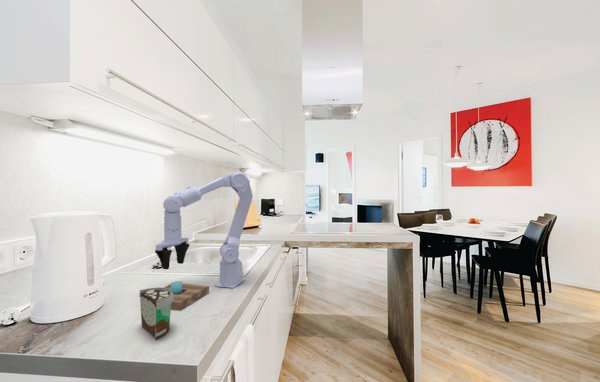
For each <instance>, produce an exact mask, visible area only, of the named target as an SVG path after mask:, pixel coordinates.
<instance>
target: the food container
mask: <svg viewBox="0 0 600 382" xmlns="http://www.w3.org/2000/svg"><path fill="white" fill-rule="evenodd" d="M138 297H139V298H140V299H139V300H140V301H139V302H140V318H141V319H140V320H141V329H142V330H143V331H145V332H146V333H147V334H148V335H149V336H150V337H151V338H152V339H153V340H155V341H157V340H160V339H161V338H163V337H165V336H166V335H167V334H168V333H169V331H170V325H171V323H170V322H171V310H172V309H171V303H172V302H173V300H174V297H173V293H172V292H171V290H170V289H167V288H164V287H150V288H149V287H148V288H144V289H139V296H138Z"/></svg>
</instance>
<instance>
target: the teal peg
mask: <svg viewBox="0 0 600 382" xmlns="http://www.w3.org/2000/svg"><path fill="white" fill-rule="evenodd" d="M170 284H171V292H172V293H173V295H179V294H181V293H182V284H183V281H182V280H175V281H172V282H170Z"/></svg>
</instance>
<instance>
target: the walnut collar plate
mask: <svg viewBox="0 0 600 382" xmlns="http://www.w3.org/2000/svg"><path fill="white" fill-rule="evenodd" d="M163 288H167V289H170V290H171V283H170V284H168V285H166V286H164V287H163ZM209 294H210V285H203V284H191V283H182V293H181V294H179V295H173V297H174V300H173V302H172V303H171V310H173V311H180V310H181V311H183V310H184V309H186V308H187V307H189V306H190V305H192V304H193V303H195V302H197V301H199V300H201V299H202V298H203V297H205V296H206V295H209ZM182 309H183V310H182Z"/></svg>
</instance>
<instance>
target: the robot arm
mask: <svg viewBox="0 0 600 382" xmlns="http://www.w3.org/2000/svg"><path fill="white" fill-rule="evenodd" d="M223 187H224V188H231V189H233V190H234V191H235V193H236V194H237V196H238V198H239V199H238V201H237V206H236V209H235V211H234V215H233V218H232V221H231V224H230V228H229V231H228V234H227V235H226V237H225V240H224V243H222V245H221V246H220V247H219V255H220V256H221V259H220V260H219V282H218V283H216V284H215V286H214V287H219V288H228V289H229V288H231V289H234V288H236V287H237V286H239V285H240V284H242V283H243V282H245V281H246V280H245V278H244V277H243V276H244V275H243V274H244V273H243V262H242V261H241V260H240V259H239V257H240V254H239V253H240V252H239V248H240V242H241V241H240V239H241V236H242V233H243V229H244V227H245V224H246V220H247V216H248V213H249V210H250V207H251V204H252V201H253V197H254V196H253V191H252V188H251V184H250V179H249V178H248V177H247V174H245V173H243V172H241V171H236V172H234V173H231V174H228V175H225V176H224V175H223V176H220V177H219V178H217V179H214V180H213V181H210V182H209V183H206V184H203V185H202V186H200V187H197V186H194V185H193V186H187V187H186V189H184V190H182V191H179V192H174V194H173V195H170V196H168V197H167V198H165V199H164V200H163V203H162V204H163V205H162V206H163V208H164V213H163V214H164V217H163V230H164V231H163V232H164V233H163V235H164V236H163V237H164V238H163V239H164V240H162V242H160V243H157V244H155V250H154V252H155V254H156V256H157V257H158V259H159V262H160V264H161V268H162V270H169V269H170V260H171V255H172V252H173V250H172V249H168V248H172V247H174V249H175V254H176V262H177V264H181V265H182V264H184V262H185V257H186V254H187V252H188V249H189V247H190V243H189V237H182V216H181V208H186V207H188V206H191V205H192V204H195V203H197V202H199V201H201V199H202V197H203V196H204V195H205V194H208V193H211V192H212V191H215V190H218V189H220V188H223Z"/></svg>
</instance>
